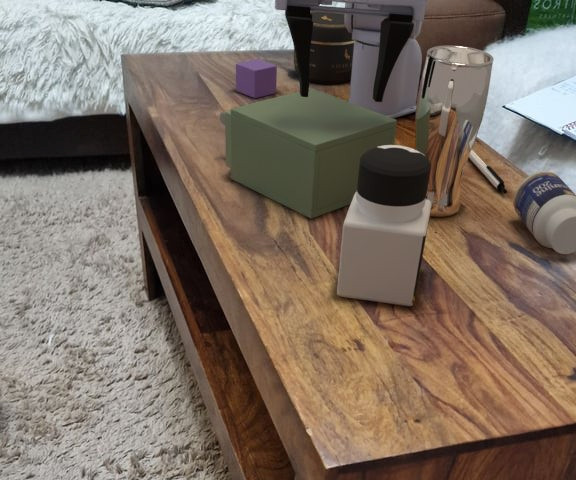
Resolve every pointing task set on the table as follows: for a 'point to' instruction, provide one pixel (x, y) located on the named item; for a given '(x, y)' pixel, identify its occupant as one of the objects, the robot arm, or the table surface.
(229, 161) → the drawer
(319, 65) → the jar
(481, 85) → the beer glass
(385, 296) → the medicine bottle
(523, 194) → the pill bottle
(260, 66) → the cube
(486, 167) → the pen
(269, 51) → the table surface
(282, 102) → the cabinet
